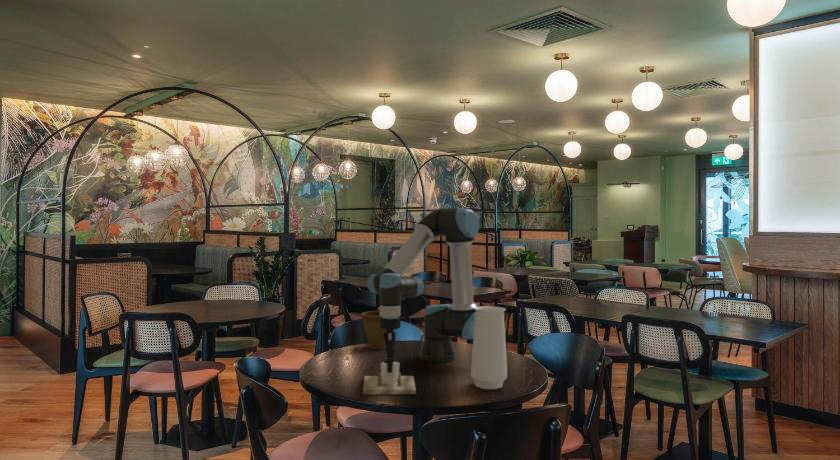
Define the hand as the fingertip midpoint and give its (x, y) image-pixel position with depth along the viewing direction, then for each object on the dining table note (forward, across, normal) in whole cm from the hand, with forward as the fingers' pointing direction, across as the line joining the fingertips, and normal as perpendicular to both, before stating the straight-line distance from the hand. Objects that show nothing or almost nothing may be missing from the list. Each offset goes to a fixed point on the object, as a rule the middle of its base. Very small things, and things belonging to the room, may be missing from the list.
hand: (389, 376), depth 212 cm
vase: (+4, -1, +36) cm, 36 cm away
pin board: (+4, 0, 0) cm, 4 cm away
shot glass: (+2, 0, 0) cm, 2 cm away
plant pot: (+4, -64, -5) cm, 64 cm away
